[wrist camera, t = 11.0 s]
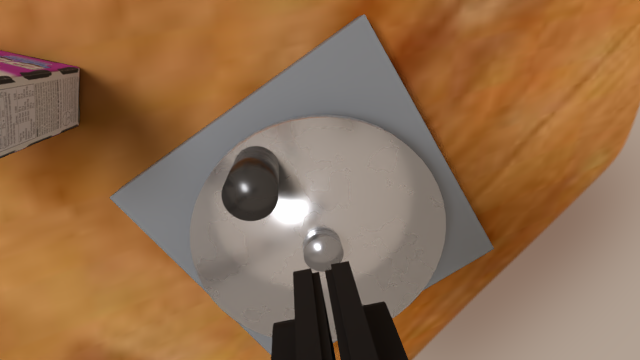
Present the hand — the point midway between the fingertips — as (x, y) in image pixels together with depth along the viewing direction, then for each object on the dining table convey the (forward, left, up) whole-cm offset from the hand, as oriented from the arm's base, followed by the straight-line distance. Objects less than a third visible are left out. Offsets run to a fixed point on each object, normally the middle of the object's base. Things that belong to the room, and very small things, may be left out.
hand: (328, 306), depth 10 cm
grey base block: (-3, -7, -21) cm, 22 cm away
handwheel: (-3, -7, -17) cm, 19 cm away
